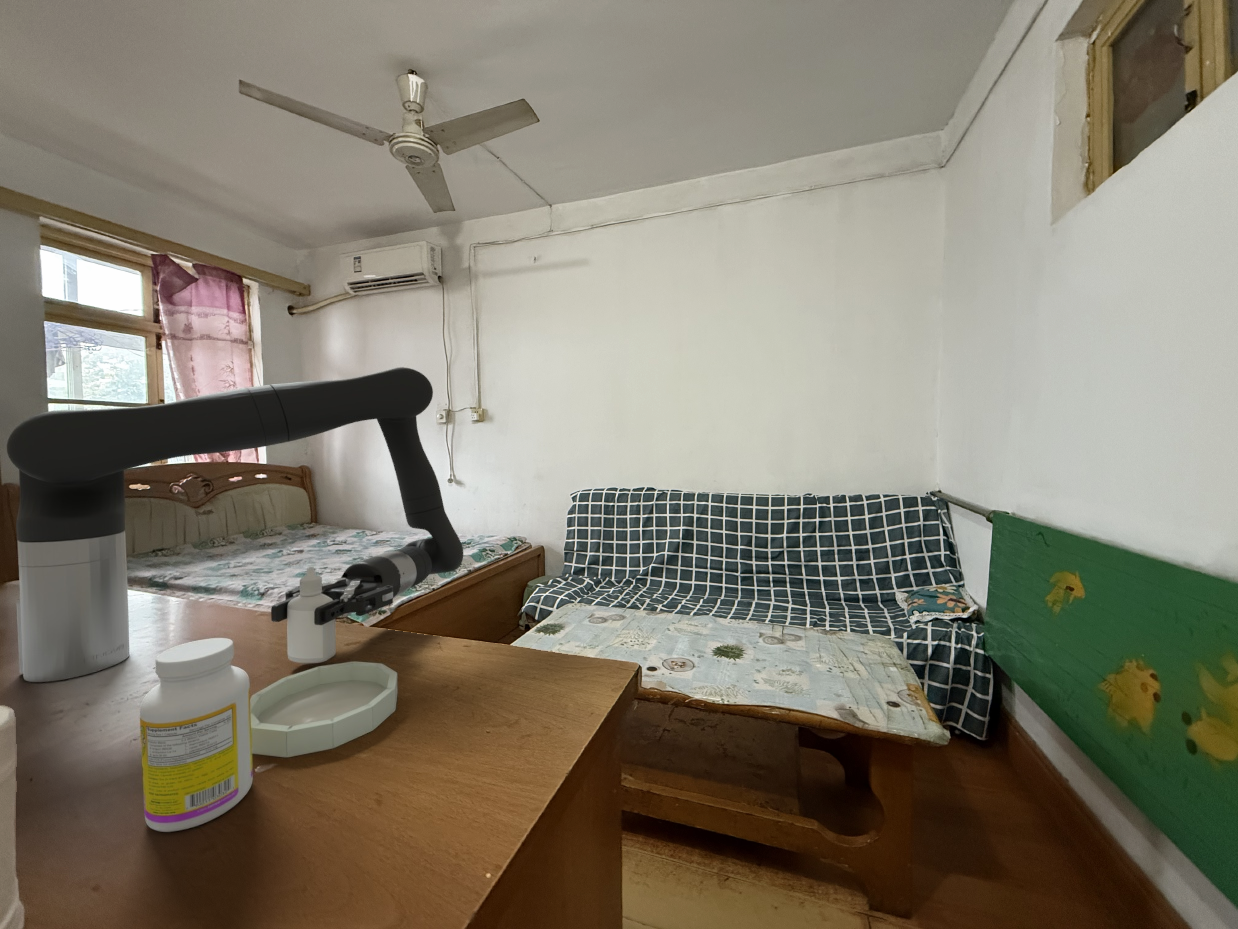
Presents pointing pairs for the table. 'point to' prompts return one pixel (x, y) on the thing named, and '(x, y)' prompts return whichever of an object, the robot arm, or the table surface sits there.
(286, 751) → the dish
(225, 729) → the supplement bottle
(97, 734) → the table surface
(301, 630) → the eye dropper bottle
